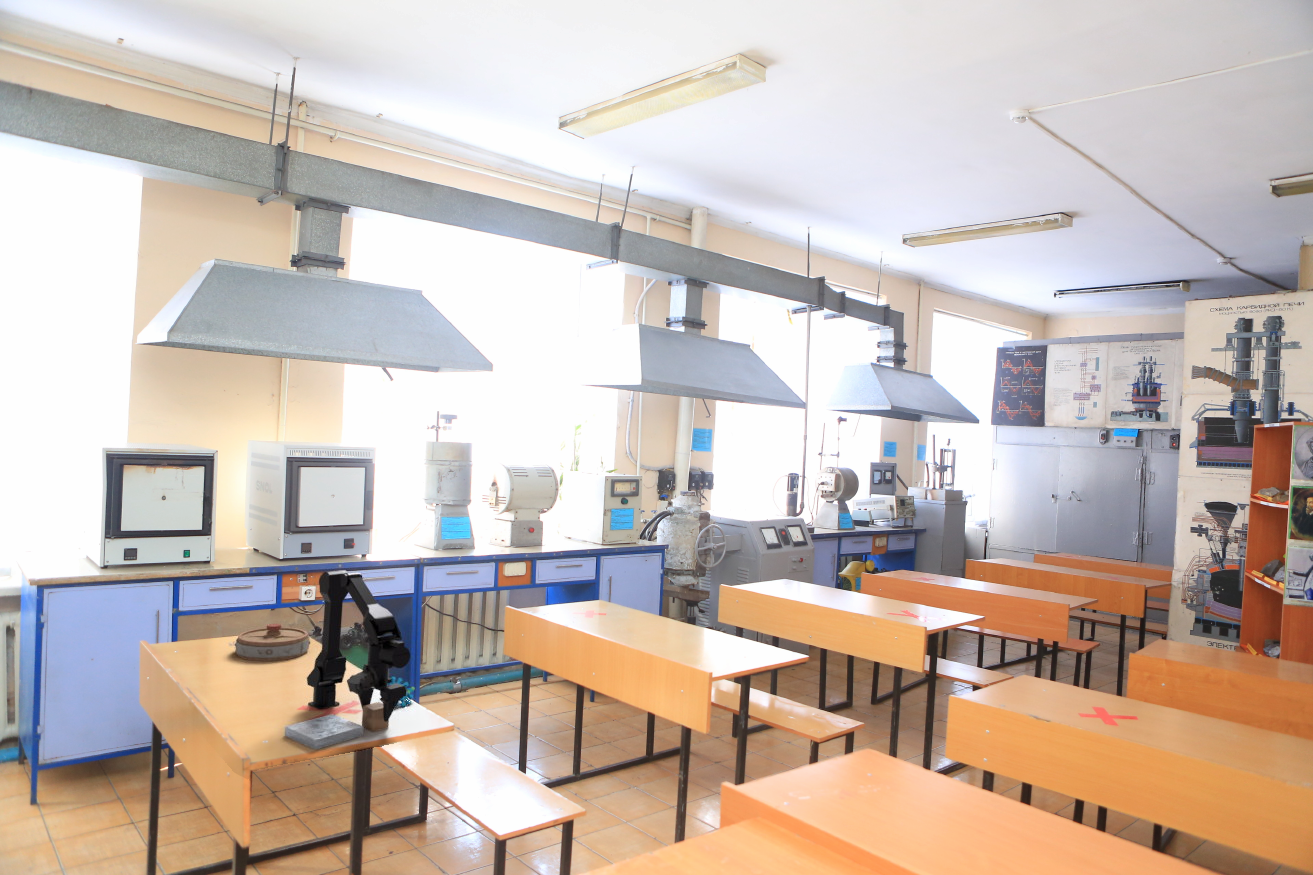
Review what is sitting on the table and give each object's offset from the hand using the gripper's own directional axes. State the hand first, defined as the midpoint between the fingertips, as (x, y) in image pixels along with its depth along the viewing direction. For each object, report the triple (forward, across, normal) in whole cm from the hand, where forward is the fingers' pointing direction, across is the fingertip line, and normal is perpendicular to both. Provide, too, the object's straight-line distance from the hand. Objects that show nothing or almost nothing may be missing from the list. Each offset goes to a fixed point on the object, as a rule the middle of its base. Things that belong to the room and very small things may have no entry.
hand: (375, 717), depth 232 cm
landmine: (+3, -89, +21) cm, 91 cm away
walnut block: (+3, 0, 0) cm, 3 cm away
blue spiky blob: (+3, -12, +17) cm, 21 cm away
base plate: (+3, -4, -13) cm, 14 cm away
